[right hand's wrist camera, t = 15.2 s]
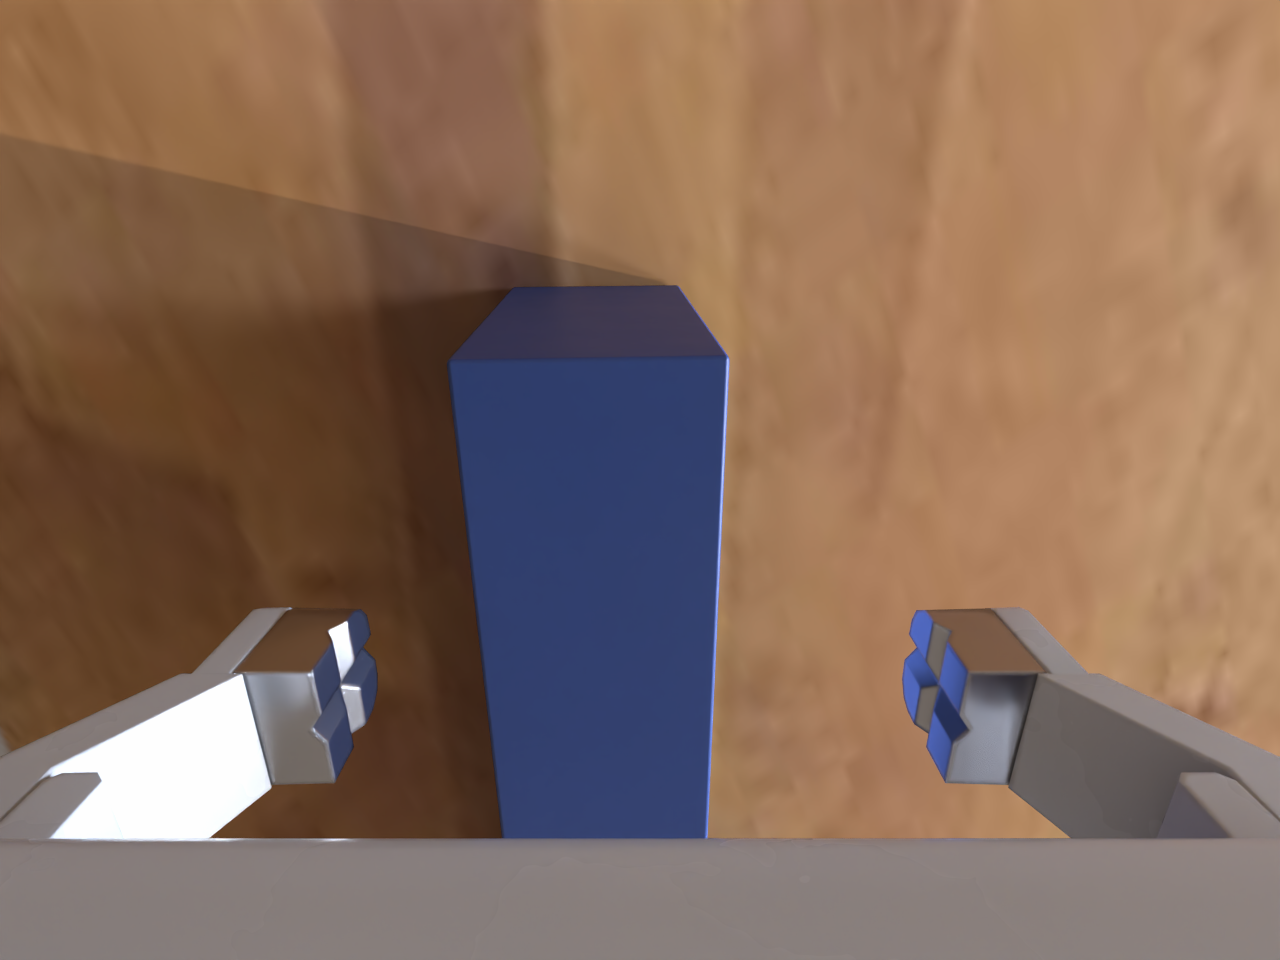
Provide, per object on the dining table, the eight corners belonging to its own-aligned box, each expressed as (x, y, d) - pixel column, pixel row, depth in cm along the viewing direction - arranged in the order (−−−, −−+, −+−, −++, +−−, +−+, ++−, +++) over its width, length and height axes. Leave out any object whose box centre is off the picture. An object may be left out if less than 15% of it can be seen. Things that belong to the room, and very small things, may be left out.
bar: (512, 286, 19) (445, 360, 11) (679, 285, 19) (730, 355, 11) (560, 923, 29) (543, 1196, 21) (668, 918, 29) (691, 1187, 22)
